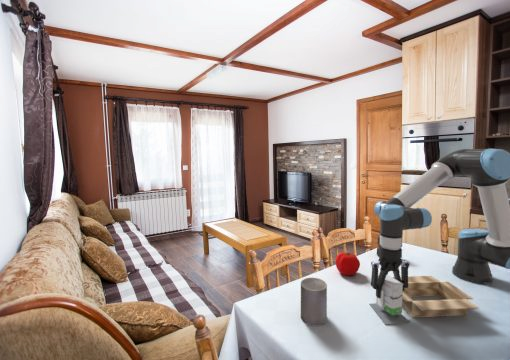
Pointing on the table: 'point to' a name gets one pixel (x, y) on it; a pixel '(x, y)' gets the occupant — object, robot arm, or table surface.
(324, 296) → the pillar candle
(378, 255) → the mug
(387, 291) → the ink box
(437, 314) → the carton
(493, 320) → the table surface
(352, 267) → the tomato
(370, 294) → the table surface
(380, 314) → the mat
